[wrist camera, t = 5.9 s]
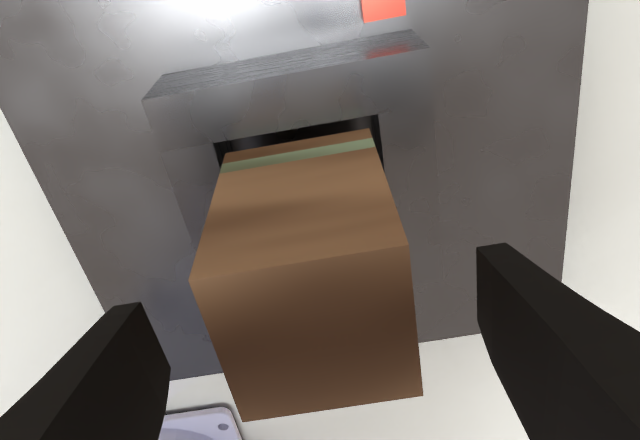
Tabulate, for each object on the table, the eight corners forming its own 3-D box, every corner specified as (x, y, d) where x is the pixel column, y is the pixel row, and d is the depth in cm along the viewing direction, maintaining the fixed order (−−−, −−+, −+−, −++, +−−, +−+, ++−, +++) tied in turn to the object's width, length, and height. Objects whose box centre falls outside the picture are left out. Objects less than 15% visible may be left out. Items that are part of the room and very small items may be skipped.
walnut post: (384, 247, 16) (423, 395, 11) (258, 268, 16) (242, 422, 11) (369, 128, 14) (409, 244, 9) (225, 153, 14) (188, 280, 9)
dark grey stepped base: (547, 306, 22) (586, 366, 19) (147, 367, 23) (125, 435, 20) (590, -228, 13) (679, -269, 10) (-77, -90, 14) (-178, -91, 11)
